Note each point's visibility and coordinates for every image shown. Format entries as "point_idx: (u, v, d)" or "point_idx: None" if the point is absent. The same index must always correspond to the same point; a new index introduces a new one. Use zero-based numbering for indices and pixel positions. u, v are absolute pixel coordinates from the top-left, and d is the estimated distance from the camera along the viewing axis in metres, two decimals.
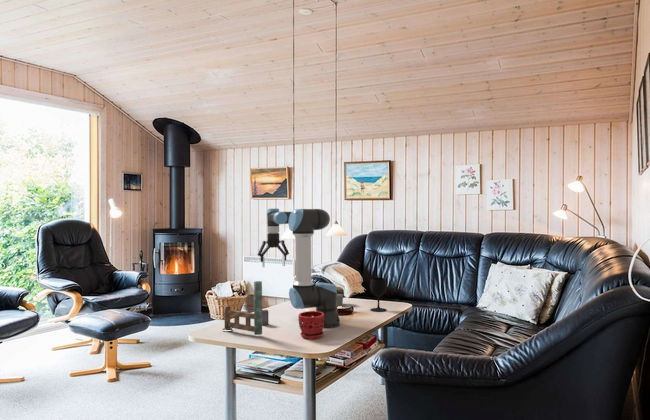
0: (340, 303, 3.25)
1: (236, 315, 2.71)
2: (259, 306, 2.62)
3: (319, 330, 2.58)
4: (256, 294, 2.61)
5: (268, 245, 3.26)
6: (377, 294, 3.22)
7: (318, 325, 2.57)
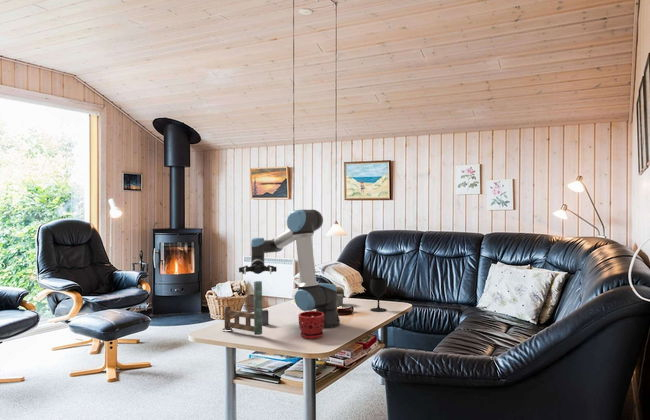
0: (340, 303, 3.25)
1: (236, 315, 2.71)
2: (259, 306, 2.62)
3: (319, 330, 2.58)
4: (256, 294, 2.61)
5: None
6: (377, 294, 3.22)
7: (318, 325, 2.57)
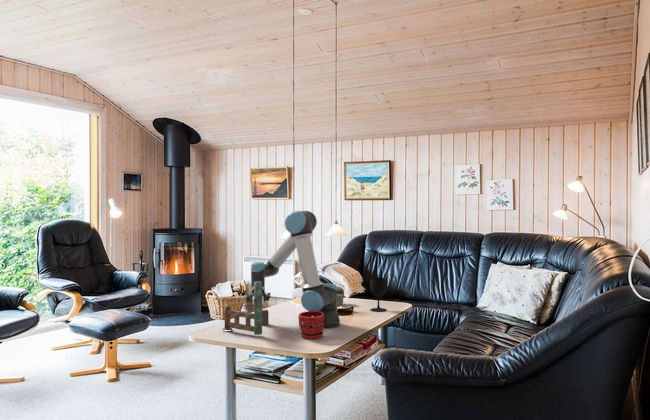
0: (340, 303, 3.25)
1: (236, 315, 2.71)
2: (259, 306, 2.62)
3: (319, 330, 2.58)
4: (256, 294, 2.61)
5: None
6: (377, 294, 3.22)
7: (318, 325, 2.57)
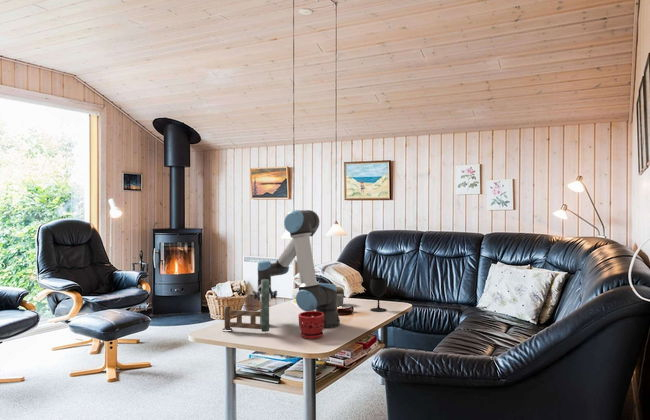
0: (341, 303, 3.25)
1: (239, 314, 2.73)
2: (267, 303, 2.68)
3: (319, 330, 2.58)
4: (264, 292, 2.67)
5: None
6: (377, 294, 3.22)
7: (318, 325, 2.57)
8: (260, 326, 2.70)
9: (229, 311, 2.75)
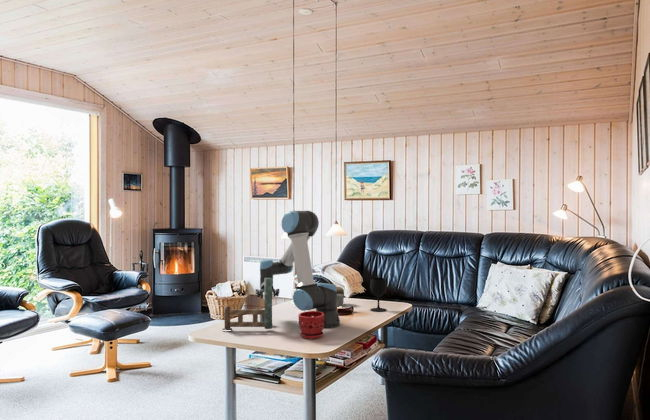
0: (341, 303, 3.25)
1: (240, 313, 2.75)
2: (271, 301, 2.74)
3: (319, 330, 2.58)
4: (269, 290, 2.73)
5: None
6: (377, 294, 3.22)
7: (318, 325, 2.57)
8: (263, 324, 2.75)
9: (230, 311, 2.75)
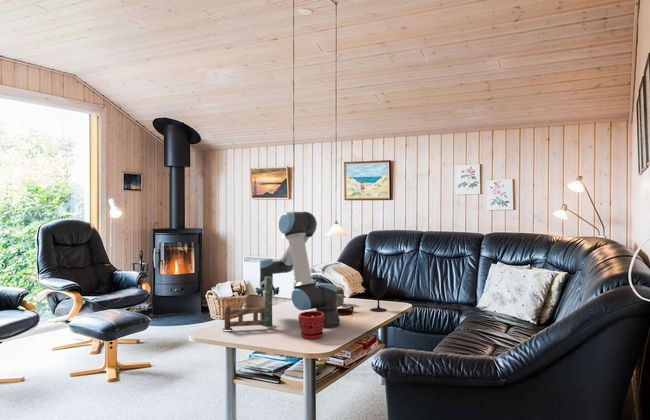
0: (341, 303, 3.25)
1: (241, 313, 2.77)
2: (271, 299, 2.80)
3: (319, 330, 2.58)
4: (270, 289, 2.78)
5: None
6: (377, 294, 3.22)
7: (318, 325, 2.57)
8: (264, 322, 2.79)
9: (230, 311, 2.75)
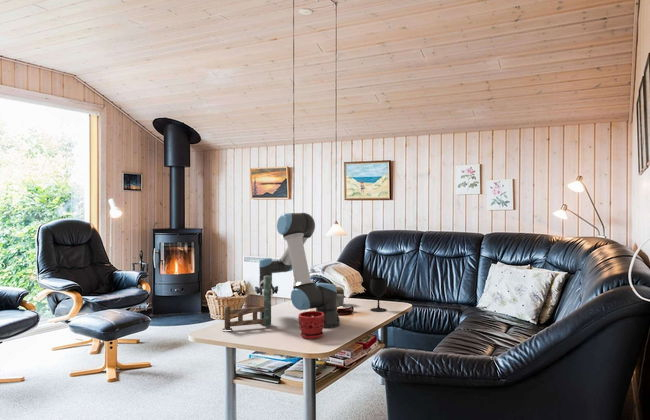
0: (341, 303, 3.25)
1: (241, 312, 2.78)
2: (270, 298, 2.83)
3: (319, 330, 2.58)
4: (269, 288, 2.82)
5: None
6: (377, 294, 3.22)
7: (318, 325, 2.57)
8: (263, 320, 2.82)
9: (230, 311, 2.76)
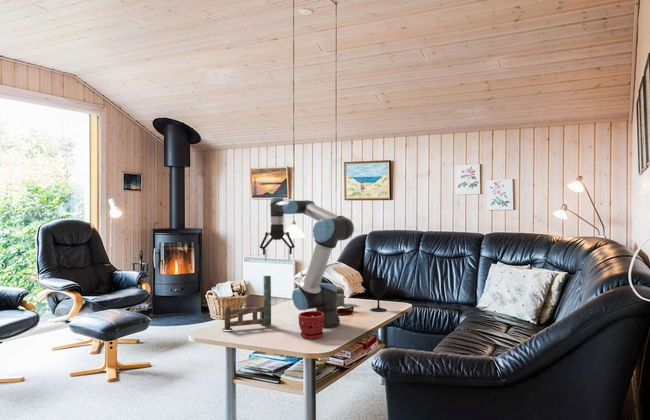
0: (341, 303, 3.26)
1: (241, 312, 2.78)
2: (270, 298, 2.84)
3: (319, 330, 2.58)
4: (269, 288, 2.82)
5: None
6: (377, 294, 3.22)
7: (318, 325, 2.57)
8: (263, 320, 2.82)
9: (230, 311, 2.76)
